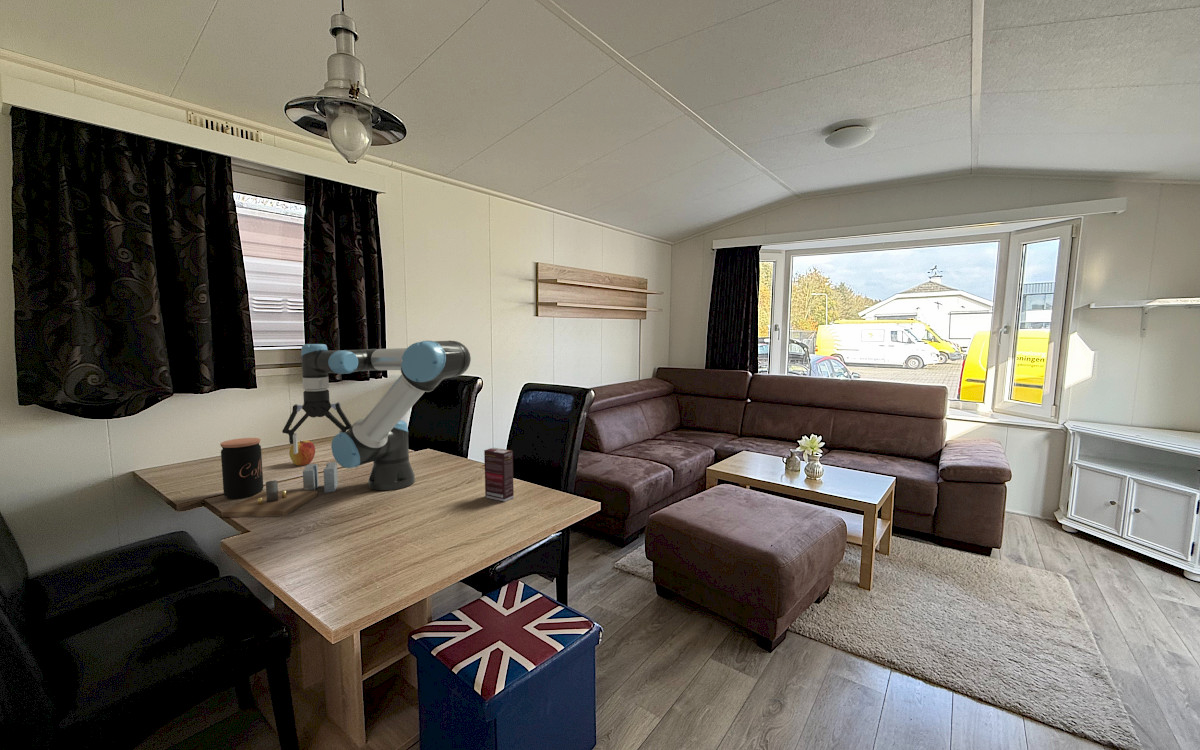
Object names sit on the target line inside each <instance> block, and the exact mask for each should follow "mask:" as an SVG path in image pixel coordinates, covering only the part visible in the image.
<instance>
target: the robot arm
mask: <svg viewBox="0 0 1200 750" xmlns="http://www.w3.org/2000/svg"><path fill="white" fill-rule="evenodd" d="M328 349H329V348H328V346H327V344H324V343H305V344H303V345H302V346H301V354H300V355H301V356H300V359H301V371H302V372H301V373H302V389H303V390H304V391H303V392H302V393H303V395H302V396H303V404H297V403H296V404H294V405H292V412H291V413H290V416H289V417H288V419H287V421H286V423H285V425H284V427H283V429H282V431H281V432H282V434H287V435H288V437H289V438H288V440H289V444H290V445H293V448H294V454H297V453H298V443H297V442H298V433H297V432H296V431H297V430H298V429H299V427H300V426H301V425H302V424H303V423H304V422H305V421H306V420H307V418H309V417H310V418H323V417H326V418H327V419H329V421H330V422H332V423H333V424H334V425H335V426H336V427H337V428H338V429H339V433H337V434H336V435H334V437H333V438H332V441H331V447H330V448H331V453H332V456H333V458H334V460H335V462H337V464H338V465H339V466H341V467H342V468H346V469H353V468H358V467H360V466H363V465H366V464H369V463H372V468H371V471H370V475H369V478H368V488H369V489H371V490H375V491H389V490H390V491H391V490H393V491H394V490H399V489H403V488H407V487H410V486H411V485H413V484H414V483H415V482H416V481H415V480H416V477H415V472H414V470H413V467H412V465H411V463H410V457H409V456H410V455H409V454H410V453H409V451H410V449H409V447H410V445H409V429H408V427H409V425H408V423H407V422H406V421H405V420H403V417H405V415H406V414H407V413H408V412H409V411H410V409H411V408H412V407H413V406H414V405H415V404H416V403H417V402H418V400H419V399H420V398H421V397H422V396H423V395H424V394H425V392H426V393H430V392H432V391H434V390H435V389H436V387H438V386H439V385H440V383H441V382H442V381H443V380H445V379H450V378H451V379H452V378H457V377H460V376H462V375H463V374H464V373H466V371H467V370H468V369H469V368H470V365H471V359H472V358H471V353H470V351H469V349H468V348H467V347H466V345H465V344H463V343H461V342H459V341H457V340H422V341H418V342H413V343H412V344H409V346H407V347H401V348H378V349H377V348H370V349H366V348H364V349H344V350H342V349H340V350H328ZM368 371H369V372H370V371H400V374H401V375H399V377H398V378H397V379H396V380H395V381H394V383H393V384H392V385H391V387H390V388H388V390H387V392H385V394H384V395H383V396H382V397H381V399H380V400H379V401H378V402H377V403H376V404H375V406H374V407H373V408H372V409H371V410H370V412H368V414H367V415H366V416H365V417H364V418H361V419H357V420H356V421H355V422H353V424H351V422H350V421H349V419H348V417H347V416H346V414H345V412H344V411H343V409H342V408H341V403H340V402H336V403H335V402H334V403H331V402H330V390H329V388H330V384H329V383H330V382H329V374H338V375H344V374H345V375H346V374H352V373H355V372H356V373H357V372H368ZM331 408H333V410H335V411H336V412H337V415H338V416H339V417H340V419H341V420H342V422H343V423H342V422H341V421H340V420H338V419H337V418H336V417H335V415H334V414H333V413H331V412H330V410H331ZM301 410H303V412H305V414H304V415H303V416H302V417H301V418H300V419H299V420H298V421H297V422H296V424H295V425H294V426H293V427H292V428H291V426H292V424H293V422H294V420H295V418H296V416H297V414H298V413H299V412H300V411H301ZM290 428H291V429H290ZM295 432H296V433H295Z"/></svg>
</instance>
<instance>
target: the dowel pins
mask: <svg viewBox="0 0 1200 750" xmlns="http://www.w3.org/2000/svg"><path fill="white" fill-rule="evenodd" d="M281 491H282V498H286V497H287V495H286V491H287V490H281ZM262 504H263V498H262V497H259V498H258V505H262Z"/></svg>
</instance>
